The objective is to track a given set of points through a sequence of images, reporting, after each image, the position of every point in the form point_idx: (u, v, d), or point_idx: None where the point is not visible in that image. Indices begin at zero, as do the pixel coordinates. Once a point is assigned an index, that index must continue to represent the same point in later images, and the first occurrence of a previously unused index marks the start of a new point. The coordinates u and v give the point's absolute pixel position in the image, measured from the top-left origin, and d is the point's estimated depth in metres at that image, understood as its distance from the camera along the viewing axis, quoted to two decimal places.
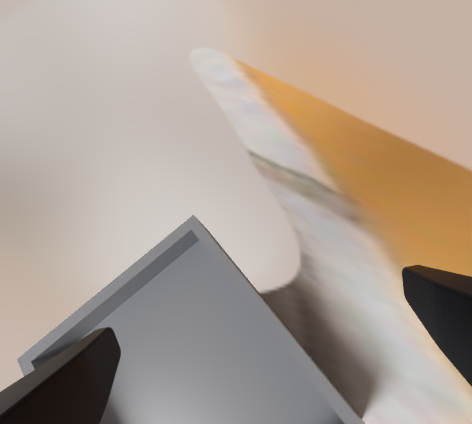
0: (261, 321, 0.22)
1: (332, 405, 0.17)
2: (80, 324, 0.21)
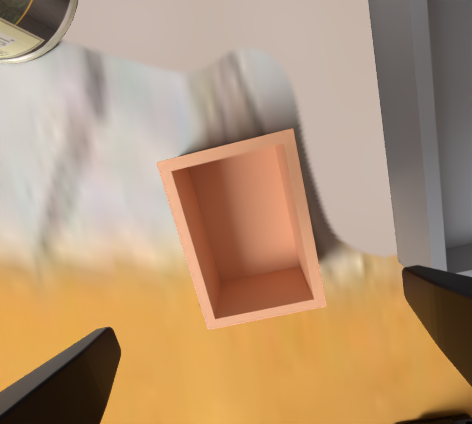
0: None
1: None
2: None
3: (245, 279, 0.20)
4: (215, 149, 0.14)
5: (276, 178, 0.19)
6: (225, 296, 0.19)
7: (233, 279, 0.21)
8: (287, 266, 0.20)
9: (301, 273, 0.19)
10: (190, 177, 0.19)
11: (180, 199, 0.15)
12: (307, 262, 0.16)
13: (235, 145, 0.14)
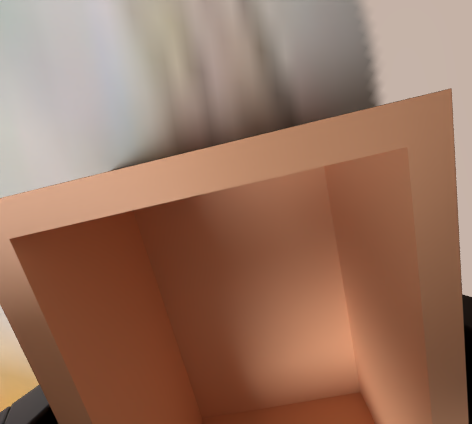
0: None
1: None
2: None
3: (251, 419, 0.10)
4: (156, 166, 0.04)
5: (322, 221, 0.09)
6: None
7: (227, 413, 0.11)
8: (336, 393, 0.10)
9: (372, 423, 0.09)
10: (132, 218, 0.09)
11: (55, 320, 0.05)
12: None
13: (229, 152, 0.04)
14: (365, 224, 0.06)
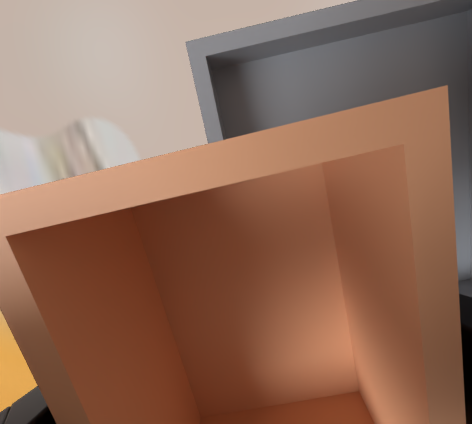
0: (462, 159, 0.18)
1: None
2: (281, 41, 0.14)
3: (250, 418, 0.10)
4: (153, 164, 0.04)
5: (320, 220, 0.09)
6: None
7: (226, 412, 0.11)
8: (335, 392, 0.10)
9: (370, 422, 0.09)
10: (130, 217, 0.09)
11: (52, 318, 0.05)
12: None
13: (226, 149, 0.04)
14: (363, 222, 0.06)
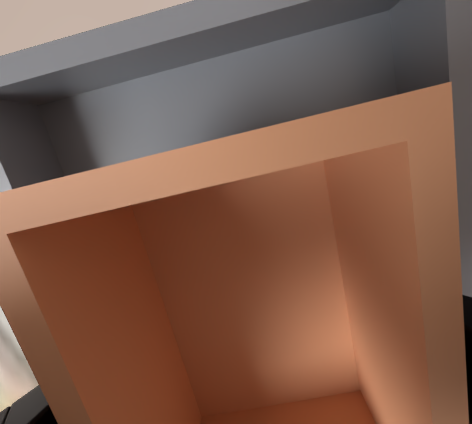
0: None
1: None
2: (93, 67, 0.09)
3: (251, 417, 0.10)
4: (154, 161, 0.04)
5: (321, 218, 0.09)
6: None
7: (226, 412, 0.10)
8: (336, 391, 0.10)
9: (372, 421, 0.09)
10: (131, 216, 0.08)
11: (53, 317, 0.05)
12: None
13: (228, 146, 0.04)
14: (365, 220, 0.06)
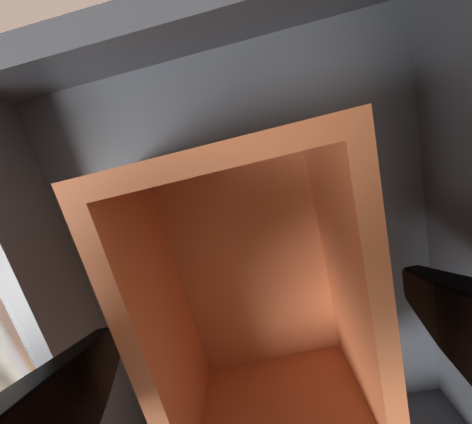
0: (417, 224, 0.12)
1: None
2: (70, 59, 0.08)
3: (250, 368, 0.12)
4: (185, 154, 0.06)
5: (305, 202, 0.11)
6: (215, 411, 0.11)
7: (230, 365, 0.13)
8: (320, 346, 0.12)
9: (347, 366, 0.11)
10: (153, 201, 0.11)
11: (112, 262, 0.07)
12: (382, 388, 0.08)
13: (232, 144, 0.06)
14: (331, 198, 0.08)
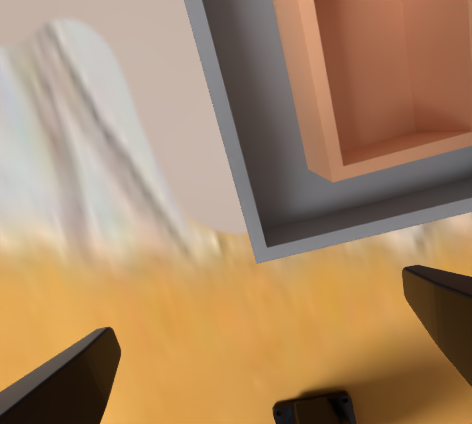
0: None
1: None
2: None
3: (351, 149, 0.17)
4: None
5: (396, 10, 0.15)
6: None
7: None
8: (401, 132, 0.17)
9: (426, 131, 0.16)
10: None
11: None
12: (471, 76, 0.12)
13: None
14: None
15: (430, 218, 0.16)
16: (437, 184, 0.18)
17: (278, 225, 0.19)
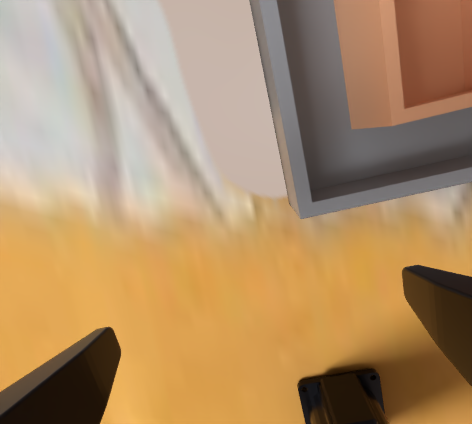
0: None
1: None
2: None
3: None
4: None
5: None
6: None
7: None
8: (450, 91, 0.17)
9: None
10: None
11: None
12: None
13: None
14: None
15: None
16: None
17: (317, 187, 0.19)
